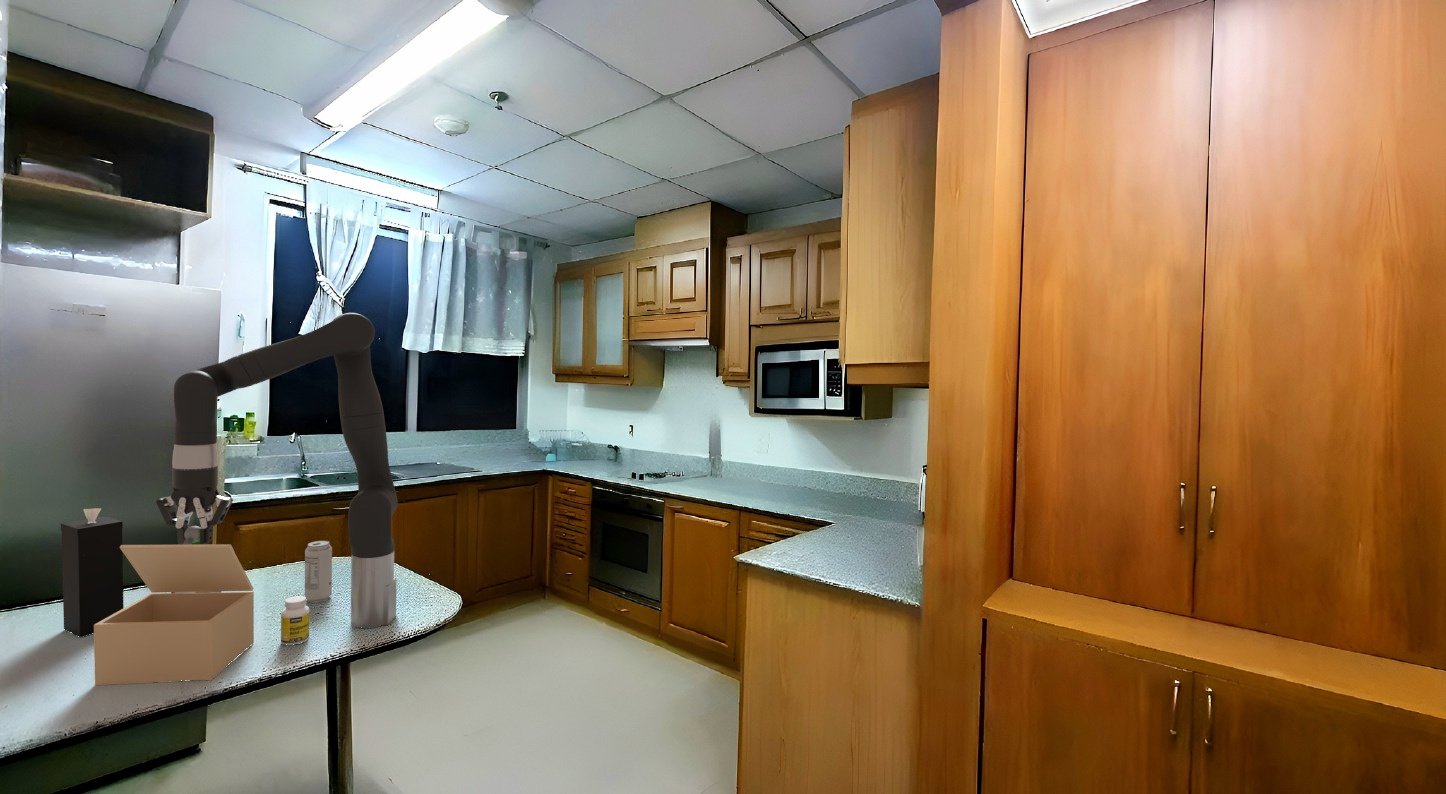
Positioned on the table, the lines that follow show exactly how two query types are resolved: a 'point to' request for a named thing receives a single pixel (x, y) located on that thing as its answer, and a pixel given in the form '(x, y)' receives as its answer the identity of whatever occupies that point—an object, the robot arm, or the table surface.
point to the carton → (173, 637)
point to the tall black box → (91, 571)
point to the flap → (188, 566)
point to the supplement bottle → (295, 621)
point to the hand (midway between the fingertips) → (194, 544)
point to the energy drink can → (318, 571)
